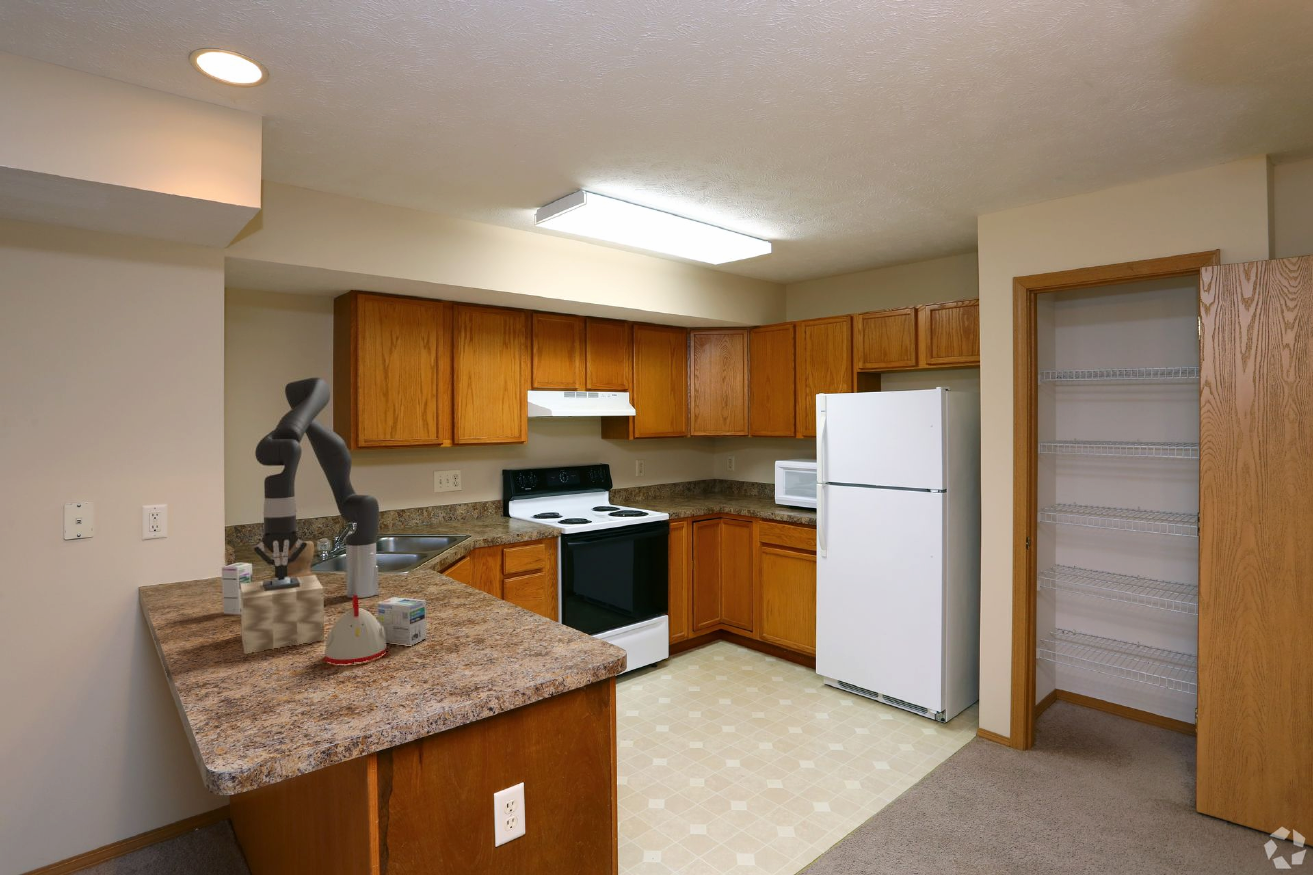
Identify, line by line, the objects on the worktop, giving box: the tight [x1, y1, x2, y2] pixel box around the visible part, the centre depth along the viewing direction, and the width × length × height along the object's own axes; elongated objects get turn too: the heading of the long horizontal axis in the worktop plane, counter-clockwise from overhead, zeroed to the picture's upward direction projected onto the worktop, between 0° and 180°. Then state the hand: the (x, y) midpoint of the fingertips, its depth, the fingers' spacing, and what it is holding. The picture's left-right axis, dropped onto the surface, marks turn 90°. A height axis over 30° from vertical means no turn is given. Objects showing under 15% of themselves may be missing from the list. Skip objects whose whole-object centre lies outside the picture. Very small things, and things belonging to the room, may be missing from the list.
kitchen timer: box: [324, 595, 388, 664], centre depth 167 cm, size 14×14×15 cm
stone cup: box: [269, 540, 318, 580], centre depth 244 cm, size 15×12×15 cm
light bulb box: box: [376, 596, 427, 645], centre depth 178 cm, size 11×7×11 cm, turn 71°
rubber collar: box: [262, 577, 300, 591], centre depth 181 cm, size 8×8×1 cm
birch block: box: [240, 575, 325, 655], centre depth 181 cm, size 18×18×14 cm
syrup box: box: [221, 562, 254, 616], centre depth 206 cm, size 6×6×14 cm
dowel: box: [272, 577, 290, 585], centre depth 181 cm, size 4×4×12 cm
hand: (281, 578), depth 181 cm, fingers closed
